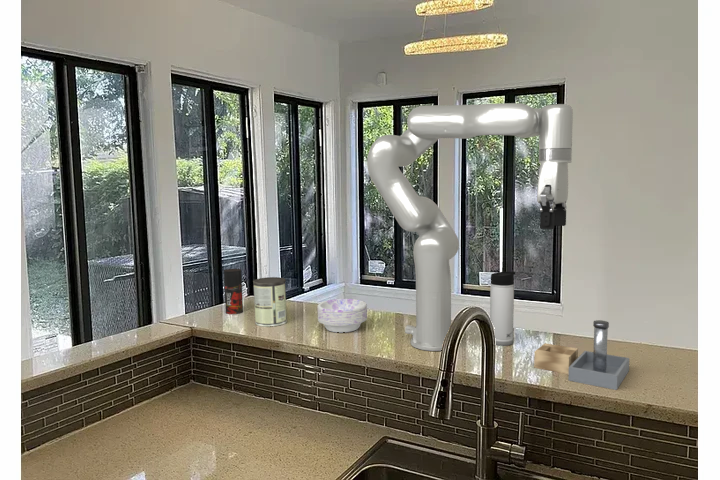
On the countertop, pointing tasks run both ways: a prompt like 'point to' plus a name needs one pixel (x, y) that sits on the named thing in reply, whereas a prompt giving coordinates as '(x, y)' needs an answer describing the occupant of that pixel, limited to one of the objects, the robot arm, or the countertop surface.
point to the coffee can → (270, 301)
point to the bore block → (555, 358)
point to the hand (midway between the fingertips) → (553, 227)
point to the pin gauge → (600, 345)
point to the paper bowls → (342, 314)
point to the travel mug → (502, 306)
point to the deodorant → (233, 291)
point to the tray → (611, 379)
